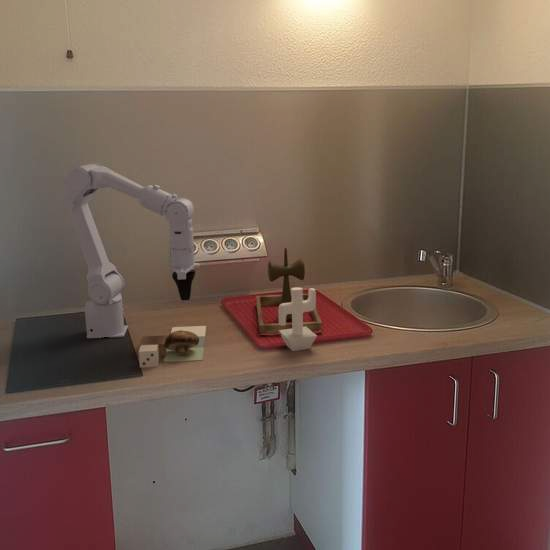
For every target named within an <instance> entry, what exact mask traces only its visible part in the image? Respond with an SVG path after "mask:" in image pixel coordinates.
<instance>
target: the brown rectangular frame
mask: <svg viewBox="0 0 550 550" xmlns="http://www.w3.org/2000/svg"><path fill="white" fill-rule="evenodd" d="M255 297H256V298H255V300H256V303H255V304H256V315H257V314H258V315H257V323H259V324H258V332H260V334H277V333H280V332H279V330H284V329H291V328H292V322H286V325H285V326H281V325H279V322H278V323H264V320H263V312H262V307H266V306H267V307H269V306H271V307H273V306H279V305H280V304H279V303H278V301H279V300H280V299H281V297H282V294H275V295H274V294H273V295H256V296H255ZM305 300H308V293H303V301H305ZM309 312H310V314H312V315H311V318H312V317H313V318H312V320H313V319H314V320H313V321H309V322H308V321H305V322H304V321H303V327H305V326H306V327H307V328H308V329H310V330H311V331H319V330H322V331H323V323H322V319H321V317H320V314H319V312H318V310H317V307H315V309H314V310H313V311H309ZM260 334H259V335H260Z"/></svg>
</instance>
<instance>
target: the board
mask: <svg viewBox="0 0 550 550" xmlns="http://www.w3.org/2000/svg"><path fill="white" fill-rule="evenodd" d="M179 330H182V331H189V332H192V333H194V334H196V335H197V336H198V337H199V343H198V345H197V346H195V347H193V348H190V349H188V355H181V354H178V353H177V352H176V350H170V349H167V350H166V354H165V356H164V359H163V363H177V362H180V363H181V362H197V361H198V362H199V361H200V362H202V361H203V358H204V349H205V341H206V331H207V325H195V326H192V325H191V326H173V327H172V328H171V332H170V334H171V333H173V332H175V331H179Z"/></svg>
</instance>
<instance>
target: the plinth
mask: <svg viewBox="0 0 550 550" xmlns="http://www.w3.org/2000/svg"><path fill="white" fill-rule="evenodd" d="M167 337H168V335H147V336H146V335H145V336H143V335H142V336H141V338H140V339H141V340H140V342H139V344H138V347H139V349H140V346H141V345H158V351H159V357H165V354H166V350H167V348H166V346H165V340H166V338H167Z"/></svg>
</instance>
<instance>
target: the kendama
mask: <svg viewBox="0 0 550 550" xmlns="http://www.w3.org/2000/svg"><path fill="white" fill-rule="evenodd" d="M283 254H284V255H283V258H284V259H283V261H284V262H283V265H281V264H278V263H275V262H273V261H268V263H267V275H268V276H267V277H268V280H269V281H270V282H272V283H273V282H274V281H276V280H277V279H279V278H282V277H283V282H282V283H283V284H282V290H281V291H282V292H281V295H282V297H281V299H280V300H279V301H278V303H279V304H282V303H290V302H291V301H292V296H291V287H290V276H291V277H294V278H296V279H298V280H300V281H304V280H305V273H306V269H305V263H304V260H303V259H302V258H299V259H297V260H295V261H294V262H293V263H291V264H288V249H287V247H284V252H283ZM277 318H278V319H279V316H278V315H277ZM290 320H291V321H292V314H287V315H286V321H290Z"/></svg>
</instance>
